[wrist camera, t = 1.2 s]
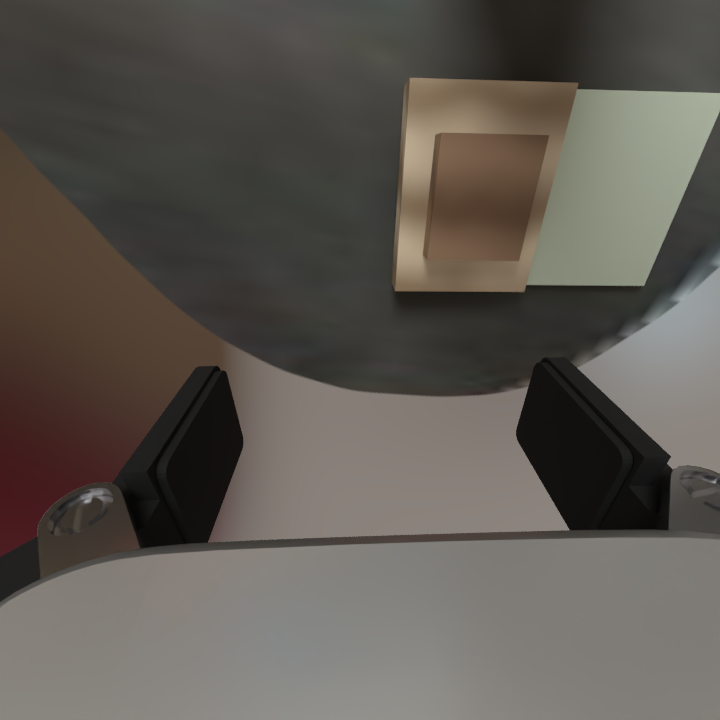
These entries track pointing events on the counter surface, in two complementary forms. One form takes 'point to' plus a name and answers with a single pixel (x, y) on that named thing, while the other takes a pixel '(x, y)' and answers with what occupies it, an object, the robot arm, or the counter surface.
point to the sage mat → (619, 184)
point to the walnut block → (481, 195)
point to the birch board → (471, 115)
